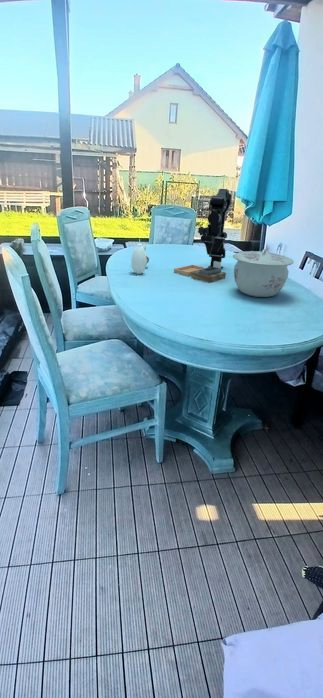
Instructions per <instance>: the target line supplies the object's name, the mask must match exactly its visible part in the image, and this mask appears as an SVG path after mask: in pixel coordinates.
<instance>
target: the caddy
mask: <svg viewBox="0 0 323 698" xmlns="http://www.w3.org/2000/svg"><path fill="white" fill-rule="evenodd" d="M221 266H222V261H221V262H217V261H214V263H213V267H208V266H207V267H205V268H204V269H200V274H204V275H208V276H210V275H214V274H217V273H221V272H222V269H223V268H221Z"/></svg>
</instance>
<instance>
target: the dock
mask: <svg viewBox="0 0 323 698" xmlns="http://www.w3.org/2000/svg"><path fill="white" fill-rule="evenodd" d="M226 274H227V273H226V272H223V271H221V273H217V274H214V275H210V276H208V275H204V274H200V271H196V272H192V276H190V277H191V279H192V278H193V280H196V279H197V281H200V282H204V283H207V282H208V284H210V282H211V283H214V282H218V281H221V280H223V279H224V280H225V279H226Z"/></svg>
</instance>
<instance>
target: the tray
mask: <svg viewBox="0 0 323 698" xmlns="http://www.w3.org/2000/svg"><path fill="white" fill-rule="evenodd" d="M204 268H206V267H204V266H199V265H196V264H189V265H185V266H181V267H180V266H179V267H175V268H173V274H177V273H178V275H181V274H182V276H185V277H191V276H192V272H196V271H200V269H204Z"/></svg>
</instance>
